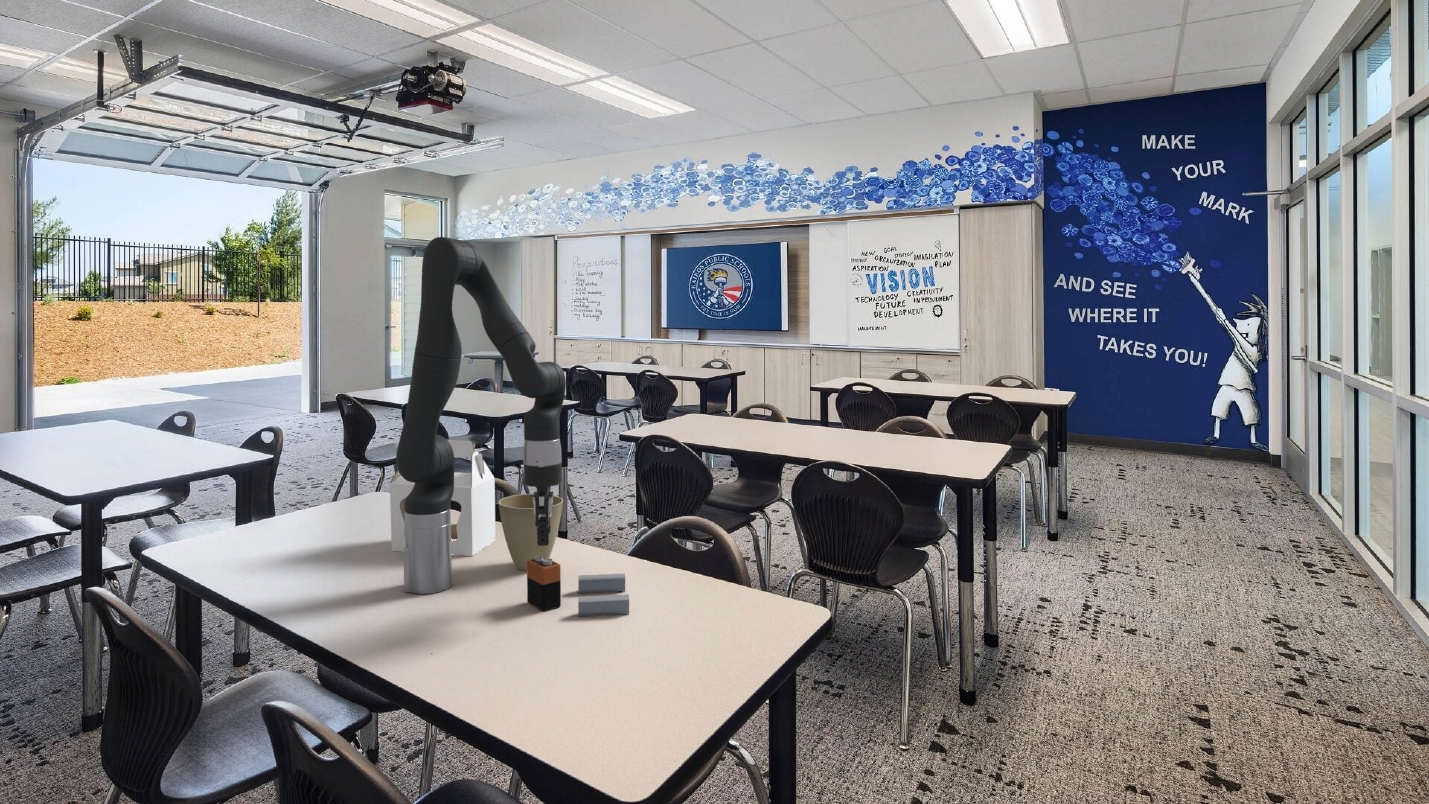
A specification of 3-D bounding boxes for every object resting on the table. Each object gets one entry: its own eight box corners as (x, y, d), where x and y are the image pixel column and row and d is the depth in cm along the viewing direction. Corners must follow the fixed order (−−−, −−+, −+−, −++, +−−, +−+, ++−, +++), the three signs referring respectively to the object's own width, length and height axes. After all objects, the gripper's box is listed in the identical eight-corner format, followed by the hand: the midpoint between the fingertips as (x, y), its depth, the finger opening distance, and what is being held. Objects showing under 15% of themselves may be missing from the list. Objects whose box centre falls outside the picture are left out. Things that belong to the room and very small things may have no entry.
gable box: (496, 541, 199) (495, 437, 197) (473, 556, 186) (471, 445, 184) (418, 537, 203) (415, 434, 200) (390, 551, 190) (387, 441, 187)
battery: (542, 612, 151) (542, 564, 150) (526, 602, 156) (525, 555, 155) (561, 607, 154) (561, 559, 153) (545, 598, 159) (544, 551, 158)
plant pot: (511, 580, 170) (510, 511, 168) (491, 562, 182) (490, 497, 181) (573, 569, 178) (573, 503, 176) (550, 553, 190) (549, 491, 189)
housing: (578, 616, 149) (578, 600, 149) (578, 590, 164) (578, 575, 164) (629, 614, 151) (629, 597, 151) (624, 588, 166) (624, 573, 165)
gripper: (525, 455, 159) (527, 530, 160) (520, 468, 145) (522, 550, 146) (562, 454, 160) (563, 529, 162) (560, 466, 146) (562, 548, 148)
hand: (544, 539), depth 154 cm, fingers open, 8 cm apart
